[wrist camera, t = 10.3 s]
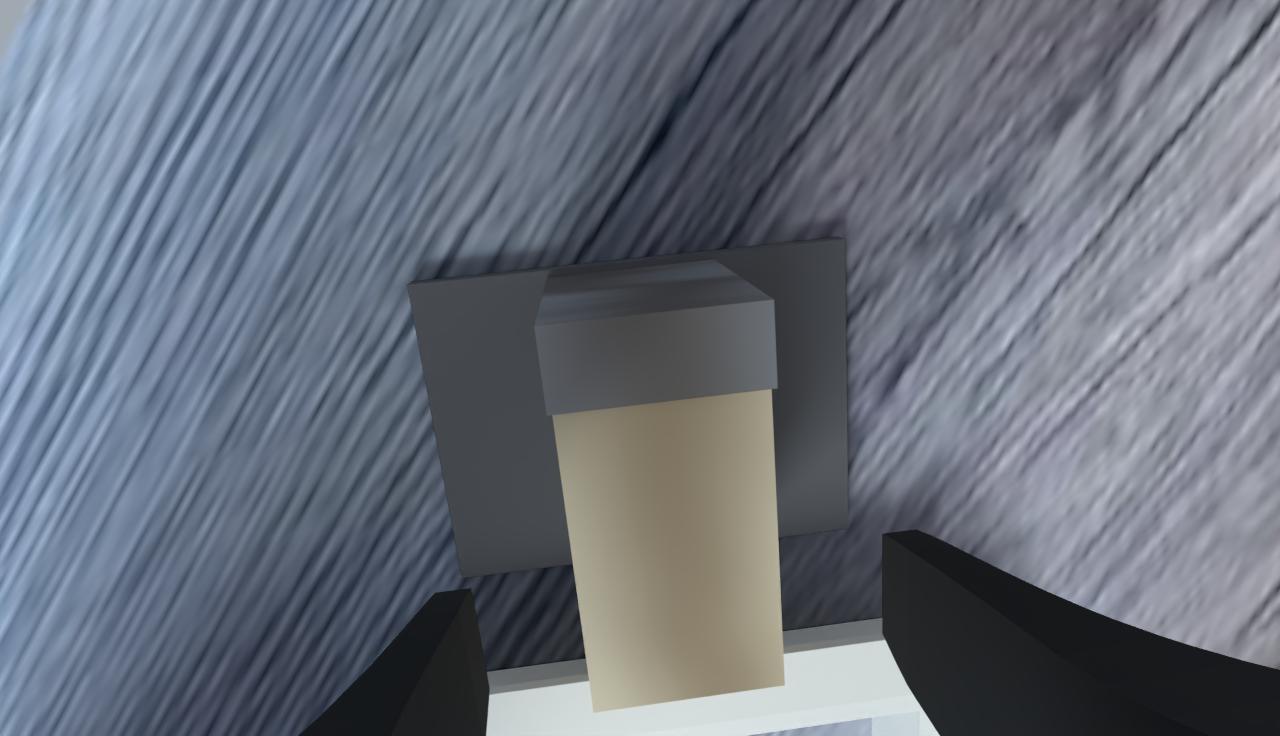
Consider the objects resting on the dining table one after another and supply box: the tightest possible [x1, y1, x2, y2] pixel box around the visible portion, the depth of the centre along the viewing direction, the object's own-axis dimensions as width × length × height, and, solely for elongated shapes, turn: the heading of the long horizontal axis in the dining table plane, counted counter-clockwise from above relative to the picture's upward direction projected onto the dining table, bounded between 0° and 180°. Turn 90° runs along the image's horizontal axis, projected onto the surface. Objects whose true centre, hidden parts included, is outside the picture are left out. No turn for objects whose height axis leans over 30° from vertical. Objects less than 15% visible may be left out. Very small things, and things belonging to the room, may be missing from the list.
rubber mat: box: [407, 237, 848, 578], centre depth 21 cm, size 12×9×1 cm
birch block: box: [534, 259, 785, 713], centre depth 18 cm, size 5×9×6 cm, turn 6°
